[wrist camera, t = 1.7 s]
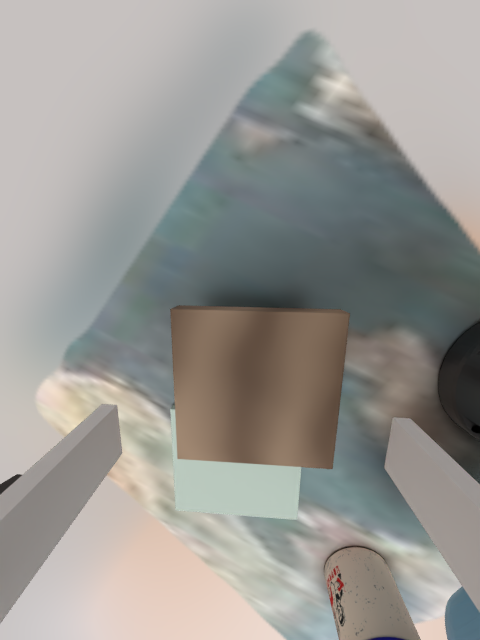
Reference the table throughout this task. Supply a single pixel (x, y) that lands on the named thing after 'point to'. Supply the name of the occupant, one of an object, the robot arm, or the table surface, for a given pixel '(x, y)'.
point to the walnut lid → (258, 383)
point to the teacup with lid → (366, 598)
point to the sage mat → (234, 486)
